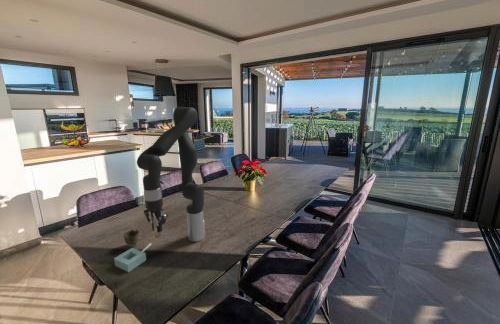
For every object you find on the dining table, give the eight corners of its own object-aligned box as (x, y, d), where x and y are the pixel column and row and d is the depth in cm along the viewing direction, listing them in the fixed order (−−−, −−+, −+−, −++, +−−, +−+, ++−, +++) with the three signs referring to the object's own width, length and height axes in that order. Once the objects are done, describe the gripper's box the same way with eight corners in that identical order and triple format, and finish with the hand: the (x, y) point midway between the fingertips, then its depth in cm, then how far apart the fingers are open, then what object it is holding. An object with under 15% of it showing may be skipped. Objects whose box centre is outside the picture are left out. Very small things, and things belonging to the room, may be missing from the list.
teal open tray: (133, 254, 123) (132, 247, 122) (146, 260, 119) (145, 253, 118) (114, 265, 114) (113, 258, 114) (128, 272, 110) (127, 264, 109)
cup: (142, 243, 133) (141, 230, 131) (133, 250, 126) (132, 237, 124) (131, 241, 135) (129, 228, 133) (122, 248, 128) (120, 235, 126)
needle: (158, 234, 114) (155, 211, 111) (162, 236, 113) (159, 212, 110) (154, 237, 112) (151, 213, 108) (157, 238, 110) (155, 215, 107)
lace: (150, 244, 132) (150, 243, 132) (151, 244, 132) (151, 243, 132) (138, 254, 123) (138, 253, 123) (139, 255, 123) (139, 254, 123)
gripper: (170, 196, 107) (174, 230, 112) (149, 191, 113) (153, 224, 118) (157, 203, 101) (161, 238, 105) (135, 197, 107) (140, 231, 111)
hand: (157, 230), depth 111 cm, fingers closed on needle, 2 cm apart
